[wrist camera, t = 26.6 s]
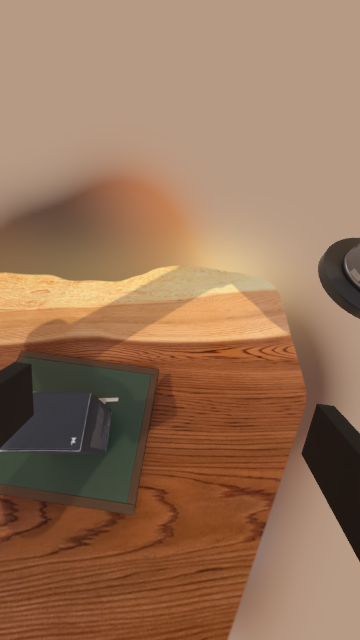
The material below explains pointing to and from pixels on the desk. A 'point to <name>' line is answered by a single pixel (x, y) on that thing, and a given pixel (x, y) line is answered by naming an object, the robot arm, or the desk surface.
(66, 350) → the desk surface
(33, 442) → the box
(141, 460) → the chalkboard
